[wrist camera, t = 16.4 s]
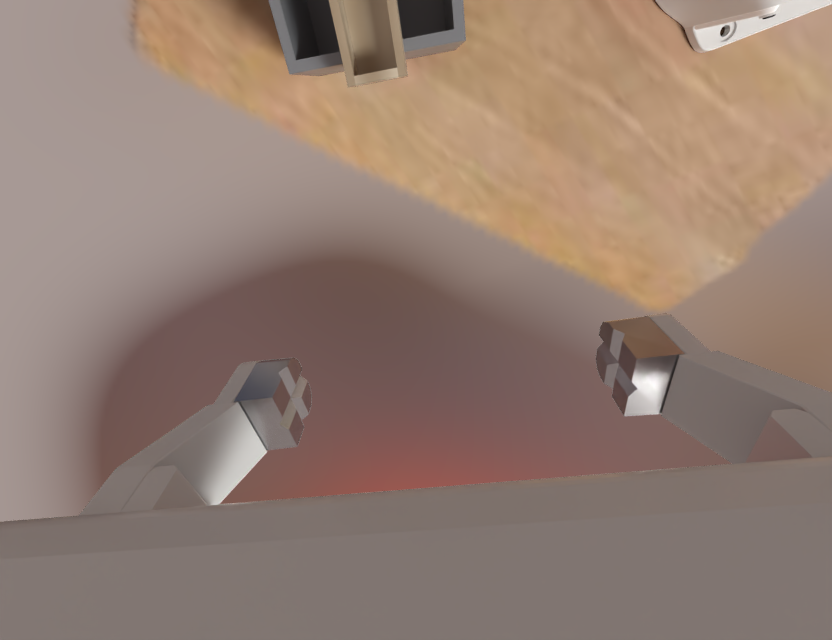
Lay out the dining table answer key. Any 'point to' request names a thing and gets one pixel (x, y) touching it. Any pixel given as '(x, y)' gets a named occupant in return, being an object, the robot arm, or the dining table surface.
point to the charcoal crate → (317, 41)
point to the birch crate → (369, 40)
